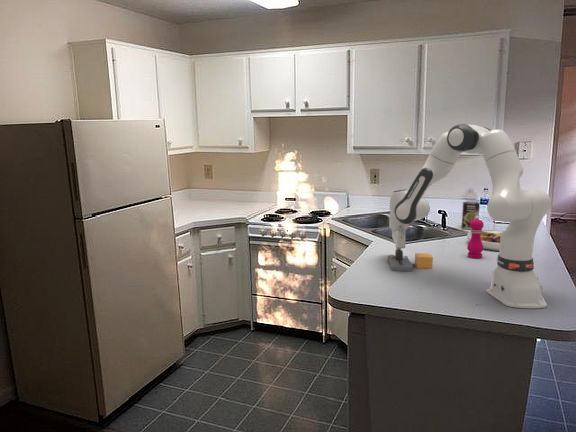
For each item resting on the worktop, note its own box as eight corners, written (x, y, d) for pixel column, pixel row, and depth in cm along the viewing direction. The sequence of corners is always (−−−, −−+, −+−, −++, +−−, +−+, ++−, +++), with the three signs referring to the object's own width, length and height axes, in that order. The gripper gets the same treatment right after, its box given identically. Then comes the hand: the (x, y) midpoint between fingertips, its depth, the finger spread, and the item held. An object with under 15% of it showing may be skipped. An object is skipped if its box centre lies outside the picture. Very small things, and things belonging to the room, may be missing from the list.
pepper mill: (484, 259, 218) (487, 217, 214) (468, 258, 220) (470, 217, 216) (481, 255, 225) (483, 214, 221) (465, 254, 227) (467, 214, 223)
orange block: (432, 268, 206) (432, 257, 205) (417, 268, 207) (417, 257, 206) (429, 263, 212) (429, 253, 212) (414, 263, 213) (415, 253, 212)
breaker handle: (402, 259, 212) (402, 251, 211) (396, 259, 212) (396, 251, 212) (401, 257, 215) (401, 250, 214) (395, 257, 215) (395, 250, 215)
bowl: (465, 237, 261) (466, 223, 260) (524, 240, 252) (525, 226, 251) (468, 251, 233) (469, 236, 232) (534, 255, 224) (536, 239, 223)
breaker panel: (412, 271, 202) (412, 265, 202) (391, 270, 203) (391, 264, 203) (406, 260, 219) (407, 254, 218) (387, 259, 220) (387, 254, 219)
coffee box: (461, 229, 279) (463, 203, 276) (461, 227, 285) (462, 201, 282) (478, 230, 276) (479, 203, 273) (477, 228, 282) (478, 202, 279)
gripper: (409, 229, 204) (408, 259, 207) (403, 219, 224) (402, 247, 227) (394, 228, 205) (394, 259, 207) (389, 219, 225) (389, 247, 227)
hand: (398, 252), depth 217 cm, fingers closed
